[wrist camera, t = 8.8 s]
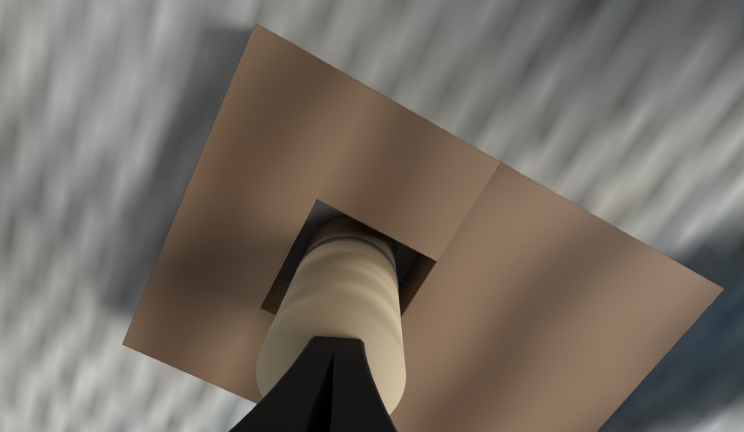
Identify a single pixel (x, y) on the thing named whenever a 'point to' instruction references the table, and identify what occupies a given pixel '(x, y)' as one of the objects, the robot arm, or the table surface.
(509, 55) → the table surface
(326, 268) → the beech peg
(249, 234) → the walnut board
